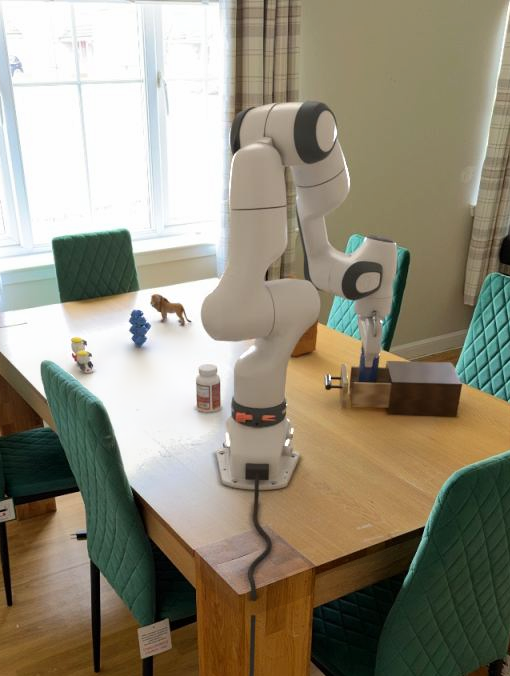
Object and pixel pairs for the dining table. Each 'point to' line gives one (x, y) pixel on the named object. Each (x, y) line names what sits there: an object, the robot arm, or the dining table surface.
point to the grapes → (138, 327)
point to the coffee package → (306, 337)
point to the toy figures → (81, 354)
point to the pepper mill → (368, 370)
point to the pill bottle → (208, 388)
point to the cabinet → (423, 388)
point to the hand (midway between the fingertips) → (366, 359)
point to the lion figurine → (168, 308)
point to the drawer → (362, 388)
